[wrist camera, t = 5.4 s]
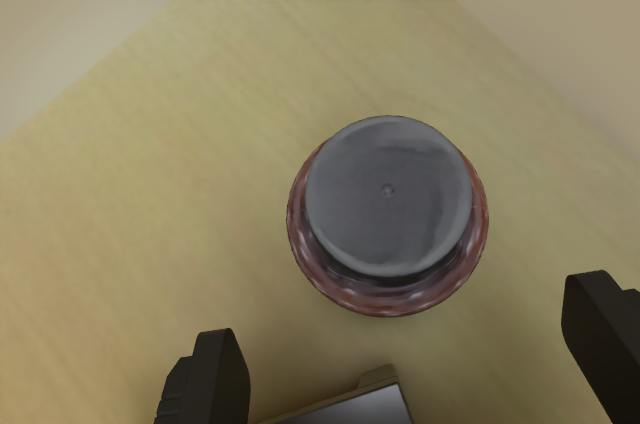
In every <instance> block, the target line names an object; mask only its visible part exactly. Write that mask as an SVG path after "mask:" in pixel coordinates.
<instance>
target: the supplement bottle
mask: <svg viewBox="0 0 640 424" xmlns="http://www.w3.org/2000/svg"><path fill="white" fill-rule="evenodd" d="M488 222H489V216H488V206H487V200H486V196H485V192H484V188H483V185H482V182H481V180H480V178H479V177H478V175H477V172H476V170H475V169H474V167H473V166H472V164H471V163H470V162H469V160H468V159H467V158H466V156H465V155H464V154H463V153H462V152H461V151H460V150H459V149H458V148H457V147H456V146H455V145H454V144H452V143H451V142H450V141H449V140H448V139H447V138H446V137H445V136H444V135H442V134H441V133H440V132H439V131H438V130H436V129H435V128H433V127H431V126H428V125H427V124H425V123H423V122H420V121H418V120H415V119H411V118H408V117H403V116H390V115H386V116H375V117H369V118H367V119H363V120H359V121H357V122H355V123H352V124H350V125H348V126H347V127H345V128H343V129H342V130H340V131H339V132H337V133H336V134H335V135H334V136H332V137H331V138H329V139H328V140H326V141H325V142H323V143H322V144H321V145H320V146H319V147H318V148H317V149H316V150H314V151H313V152H312V154H311V155H310V156H309V158H308V159H307V160H306V161H305V163H304V164H303V166H302V167H301V169H300V171H299V172H298V174H297V176H296V178H295V180H294V183H293V185H292V188H291V191H290V196H289V200H288V205H287V217H286V224H287V232H288V239H289V242H290V245H291V250H292V252H293V254H294V256H295V259H296V262H297V264H298V265H299V267H300V268H301V271H302V272H303V273H304V275H305V276H306V277H307V279H308V280H309V281H310V282H311V283H312V285H313V286H314V287H315V288H316V289H317V290H319V291H320V292H321V293H322V294H323V295H325V296H326V297H327V298H328V299H330V300H331V301H333V302H334V303H336V304H338V305H340V306H341V307H344V308H346V309H348V310H350V311H353V312H356V313H359V314H363V315H367V316H373V317H402V316H408V315H412V314H415V313H419V312H422V311H424V310H427V309H429V308H431V307H433V306H435V305H437V304H439V303H441V302H443V301H444V300H445V299H447V298H448V297H450V296H451V295H452V294H453V293H454V292H456V291H457V290H458V289H459V288H460V287H461V286H462V285H463V284H464V283H465V282H466V280H467V279H468V278H469V277H470V275H471V274H472V272H473V271H474V269H475V267H476V266H477V264H478V262H479V259H480V257H481V254H482V252H483V250H484V246H485V242H486V239H487V232H488V225H489V224H488Z"/></svg>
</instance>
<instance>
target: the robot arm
mask: <svg viewBox="0 0 640 424" xmlns="http://www.w3.org/2000/svg"><path fill="white" fill-rule="evenodd" d="M561 327H562V333H563V337H564V340H565V342H566V345H567V347H568V349H569V350H570V352H571V354H572V356H573V357H574V359H575V361H576V362H577V364H578V366H579V367H580V369H581V371H582V372H583V374H584V376H585V378H586V379H587V381H588V383H589V384H590V386H591V388H592V389H593V391H594V393H595V394H596V396H597V398H598V399H599V401H600V403H601V405H602V406H603V408H604V410H605V411H606V413H607V415H608V416H609V418H610V420H611V421H612V423H613V424H640V292H639V291H637V290H635V289H628V290H622V289H621V288H620V287H619V286H618V284H617V283H616V282H615V281H614V279H613V278H612V277H611V276H610V275H609V274H608V273H607V272H606V271H604V270H598V271H592V272H586V273H579V274H573V275H569V276H567V278H566V281H565V290H564V299H563V309H562V318H561ZM250 393H251V384H250V376H249V371H248V368H247V365H246V363H245V360H244V358H243V355H242V353H241V350H240V348H239V345H238V343H237V340H236V338H235V335H234V333H233V331H232V329H231V328H226V329H219V330H213V331H207V332H200V333H199V334H198V336H197V339H196V343H195V347H194V351H193V355H192V356H188V357H182V358H180V359H179V360H178V362H177V363H176V365H175V366H174V367H173V369H172V370H171V372H170V373H169V375H168V376H167V379H166V382H165V386H164V389H163V392H162V396H161V398H162V400H161V401H160V403H159V406H158V410H157V413H156V414H157V418H155V420H154V424H247V421H248V412H249V403H250Z"/></svg>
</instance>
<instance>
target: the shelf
mask: <svg viewBox="0 0 640 424" xmlns="http://www.w3.org/2000/svg"><path fill="white" fill-rule="evenodd" d="M256 424H414V421H413V418H412V416H411V413H410V410H409V407H408V404H407V402H406V399H405V396H404V393H403V390H402V387H401V385H400V382H399V379H398V376H397V373H396V371H395V368H394V365H393V364H389V365H386V366H383V367H380V368H377V369H374V370H371V371H368V372H365V373H362V374H361V376H360V380H359V384H358V387H357V389H356V390H353V391H350V392H347V393H344V394H341V395H338V396H335V397H332V398H329V399H326V400H324V401H321V402H318V403H315V404H312V405H309V406H306V407H303V408H300V409H297V410H294V411H291V412H288V413H285V414H282V415H279V416H276V417H273V418H270V419H268V420H265V421H262V422H259V423H256Z"/></svg>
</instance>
